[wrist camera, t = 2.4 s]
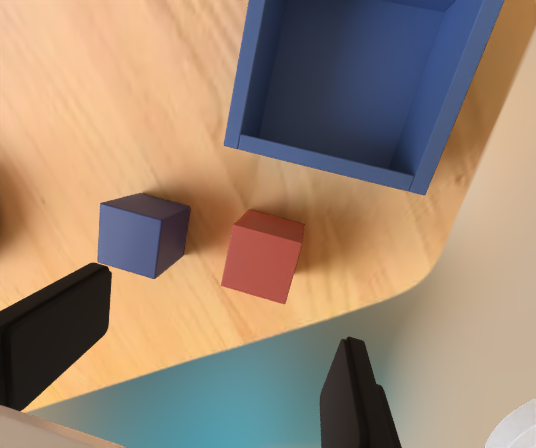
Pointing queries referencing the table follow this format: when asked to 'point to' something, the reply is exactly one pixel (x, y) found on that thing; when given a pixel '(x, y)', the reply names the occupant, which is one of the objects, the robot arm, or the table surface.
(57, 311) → the robot arm
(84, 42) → the table surface
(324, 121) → the blue bin
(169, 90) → the table surface
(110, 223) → the navy block
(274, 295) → the terracotta block
